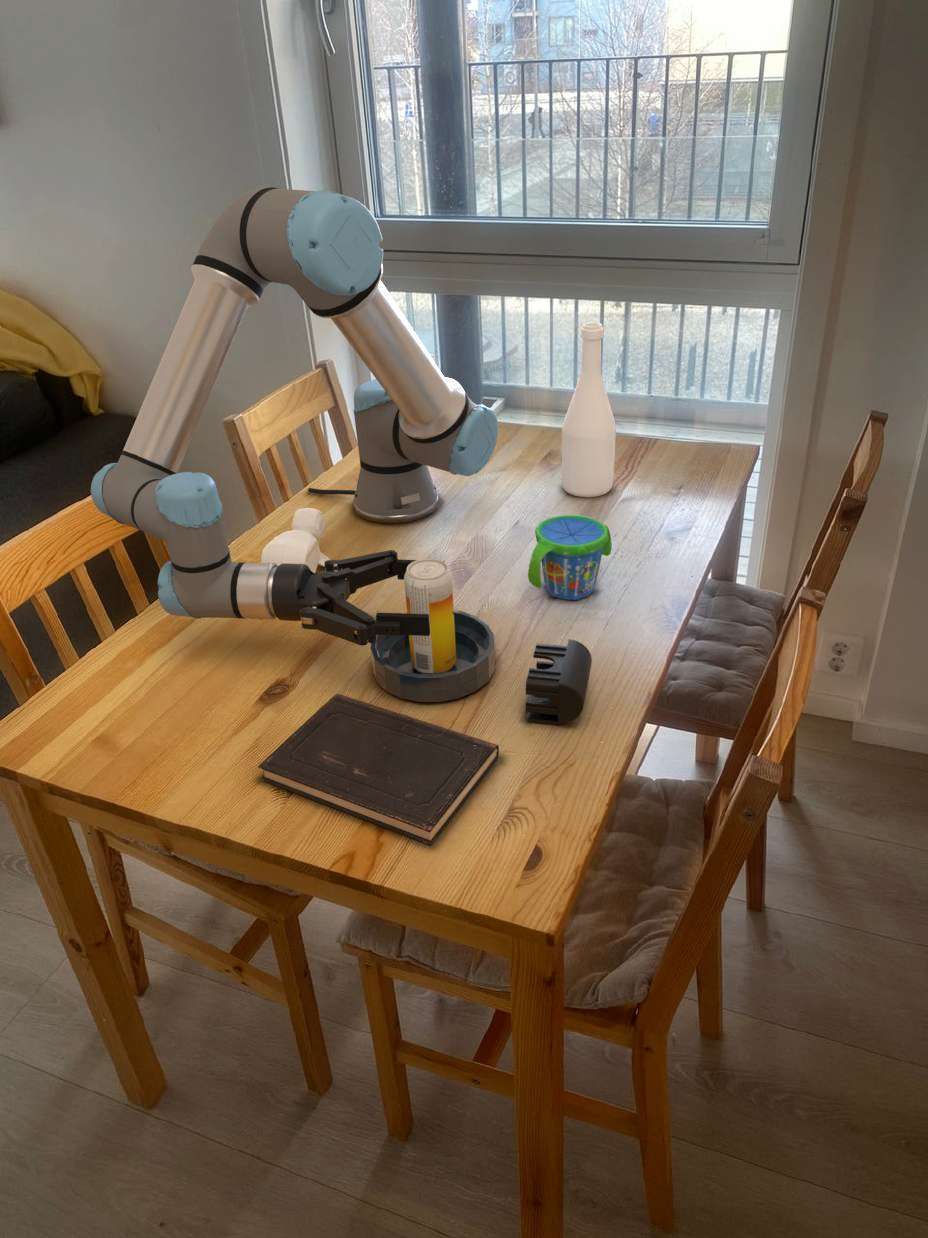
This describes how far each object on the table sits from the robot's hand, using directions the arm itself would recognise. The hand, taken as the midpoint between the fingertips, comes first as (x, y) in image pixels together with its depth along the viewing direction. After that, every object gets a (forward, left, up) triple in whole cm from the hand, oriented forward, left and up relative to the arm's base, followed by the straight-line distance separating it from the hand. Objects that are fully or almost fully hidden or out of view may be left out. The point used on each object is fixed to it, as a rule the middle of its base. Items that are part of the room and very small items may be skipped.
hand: (437, 596), depth 122 cm
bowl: (-1, -1, -11) cm, 11 cm away
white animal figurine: (-36, +8, -12) cm, 39 cm away
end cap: (+17, +2, -12) cm, 21 cm away
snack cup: (+3, +27, -12) cm, 30 cm away
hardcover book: (+7, -20, -12) cm, 24 cm away
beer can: (-1, -1, -11) cm, 11 cm away
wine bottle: (-14, +60, -12) cm, 63 cm away
